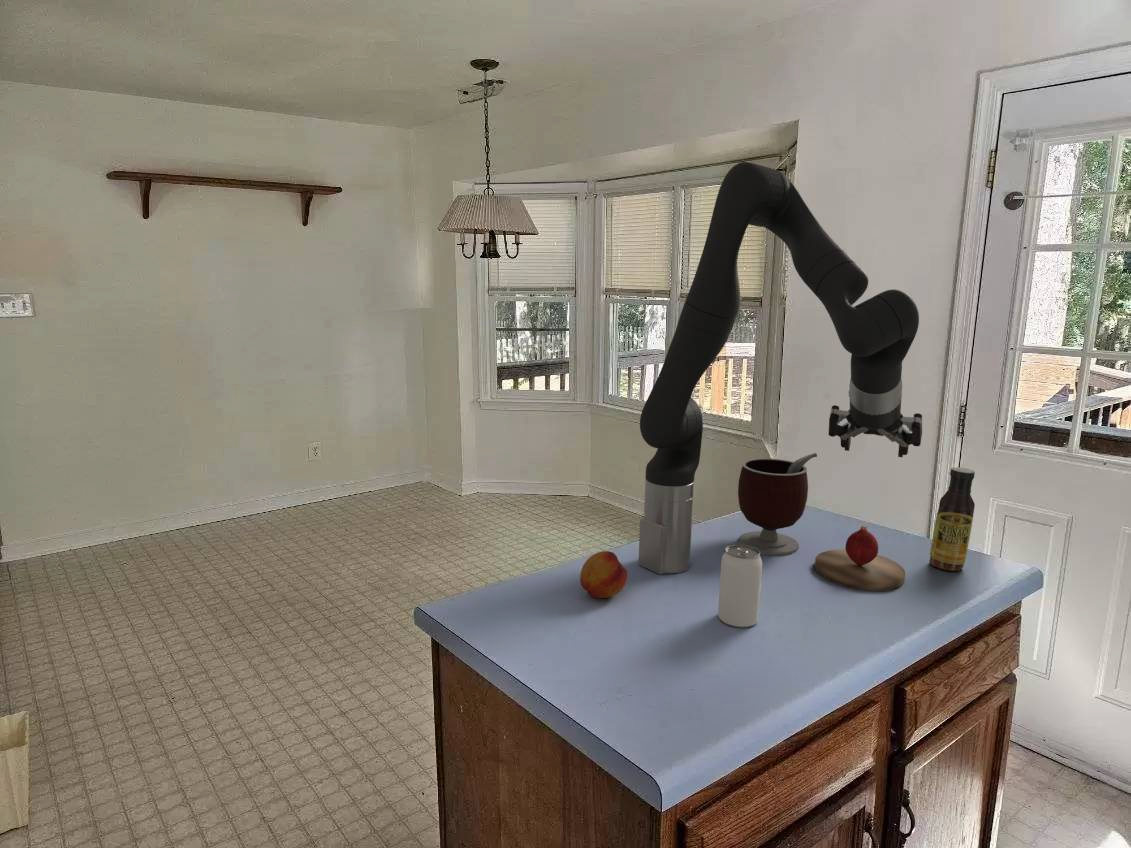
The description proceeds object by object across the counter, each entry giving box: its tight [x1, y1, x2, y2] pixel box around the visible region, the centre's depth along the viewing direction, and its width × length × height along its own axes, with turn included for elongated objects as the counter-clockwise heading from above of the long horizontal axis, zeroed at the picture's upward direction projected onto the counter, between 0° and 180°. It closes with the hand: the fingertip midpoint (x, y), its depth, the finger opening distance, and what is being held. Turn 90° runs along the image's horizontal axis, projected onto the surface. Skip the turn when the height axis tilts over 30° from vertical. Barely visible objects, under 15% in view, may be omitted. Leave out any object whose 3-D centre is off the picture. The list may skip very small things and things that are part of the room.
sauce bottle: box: [929, 466, 976, 572], centre depth 140 cm, size 7×6×20 cm
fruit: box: [579, 550, 629, 599], centre depth 127 cm, size 8×8×8 cm
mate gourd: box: [737, 452, 818, 557], centre depth 151 cm, size 16×14×20 cm
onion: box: [845, 524, 879, 566], centre depth 137 cm, size 6×6×8 cm
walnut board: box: [814, 549, 906, 592], centre depth 139 cm, size 16×16×2 cm
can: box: [717, 544, 763, 629], centre depth 118 cm, size 6×6×12 cm
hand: (873, 449), depth 125 cm, fingers open, 8 cm apart
